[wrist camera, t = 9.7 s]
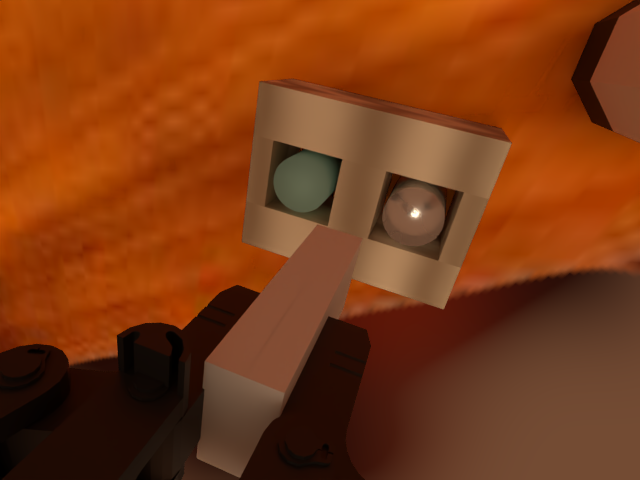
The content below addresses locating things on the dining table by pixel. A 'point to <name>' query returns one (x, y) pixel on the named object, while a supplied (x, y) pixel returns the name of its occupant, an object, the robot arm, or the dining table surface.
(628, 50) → the wine bottle
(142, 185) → the dining table surface
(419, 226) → the steel peg
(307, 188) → the teal peg
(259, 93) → the socket block
